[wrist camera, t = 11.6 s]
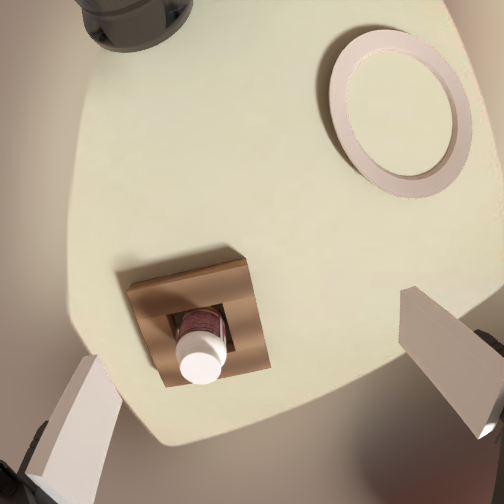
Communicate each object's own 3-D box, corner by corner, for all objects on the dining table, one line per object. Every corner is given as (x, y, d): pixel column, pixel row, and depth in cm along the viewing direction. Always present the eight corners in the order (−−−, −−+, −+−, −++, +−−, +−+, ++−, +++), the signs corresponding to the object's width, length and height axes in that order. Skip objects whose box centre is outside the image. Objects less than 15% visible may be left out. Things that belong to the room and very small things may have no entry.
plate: (467, 71, 37) (474, 69, 35) (453, 212, 43) (460, 214, 42) (334, 11, 34) (339, 5, 32) (310, 176, 40) (315, 177, 38)
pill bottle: (172, 318, 43) (160, 363, 33) (206, 294, 43) (203, 336, 32) (200, 348, 45) (197, 397, 34) (233, 326, 44) (238, 372, 34)
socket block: (132, 283, 41) (126, 292, 38) (245, 257, 42) (247, 264, 39) (167, 375, 46) (165, 387, 43) (268, 356, 46) (271, 367, 43)
